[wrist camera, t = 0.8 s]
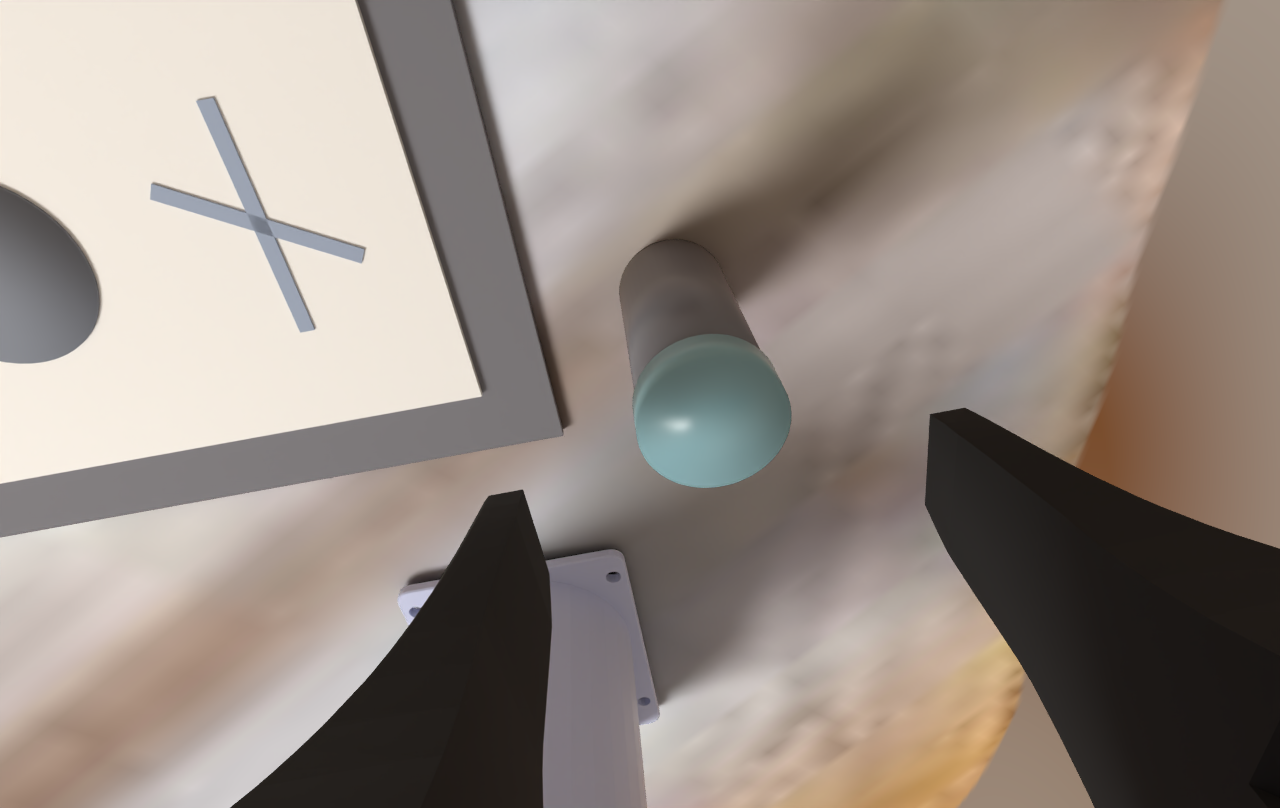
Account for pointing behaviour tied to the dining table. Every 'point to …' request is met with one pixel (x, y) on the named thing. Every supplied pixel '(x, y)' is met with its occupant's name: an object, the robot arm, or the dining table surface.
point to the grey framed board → (247, 253)
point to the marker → (697, 371)
